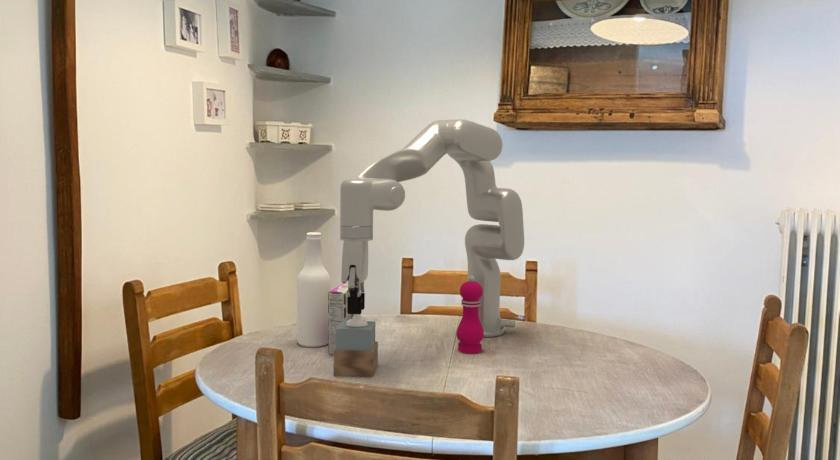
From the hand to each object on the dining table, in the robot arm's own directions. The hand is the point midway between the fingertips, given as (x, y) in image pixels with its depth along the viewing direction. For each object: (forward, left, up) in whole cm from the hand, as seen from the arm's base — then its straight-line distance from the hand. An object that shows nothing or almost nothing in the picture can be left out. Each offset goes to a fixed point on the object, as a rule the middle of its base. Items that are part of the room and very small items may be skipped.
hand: (356, 310), depth 150 cm
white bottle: (+15, -22, -14) cm, 30 cm away
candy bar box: (+6, -17, -14) cm, 23 cm away
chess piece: (0, 0, -3) cm, 4 cm away
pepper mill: (-27, -20, -14) cm, 37 cm away
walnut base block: (0, 0, -14) cm, 14 cm away
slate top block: (0, 0, -8) cm, 8 cm away
